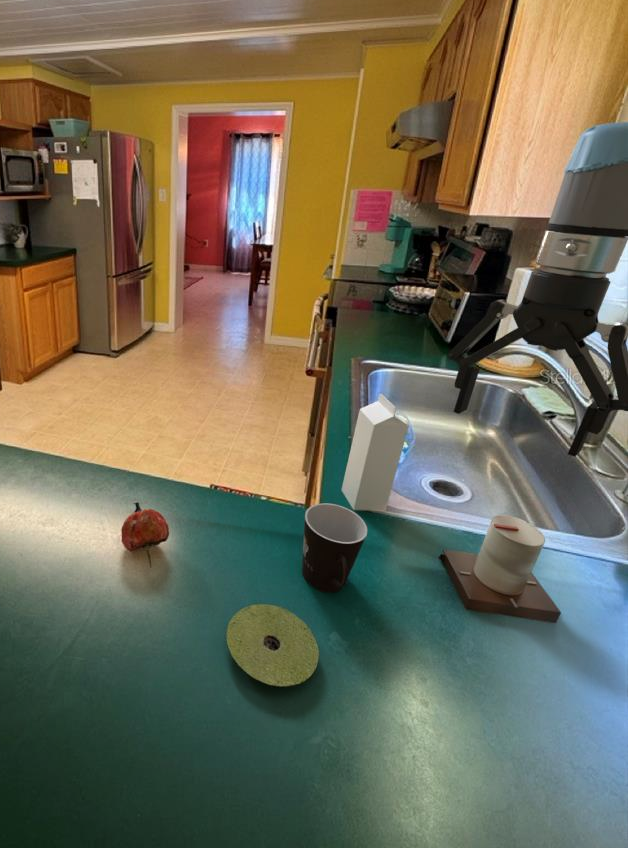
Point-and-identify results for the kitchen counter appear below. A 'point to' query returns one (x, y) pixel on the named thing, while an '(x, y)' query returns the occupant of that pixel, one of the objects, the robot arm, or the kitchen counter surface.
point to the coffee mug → (331, 545)
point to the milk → (374, 456)
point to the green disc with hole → (272, 645)
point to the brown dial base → (485, 599)
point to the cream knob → (508, 554)
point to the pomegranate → (144, 530)
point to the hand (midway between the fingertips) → (512, 430)
